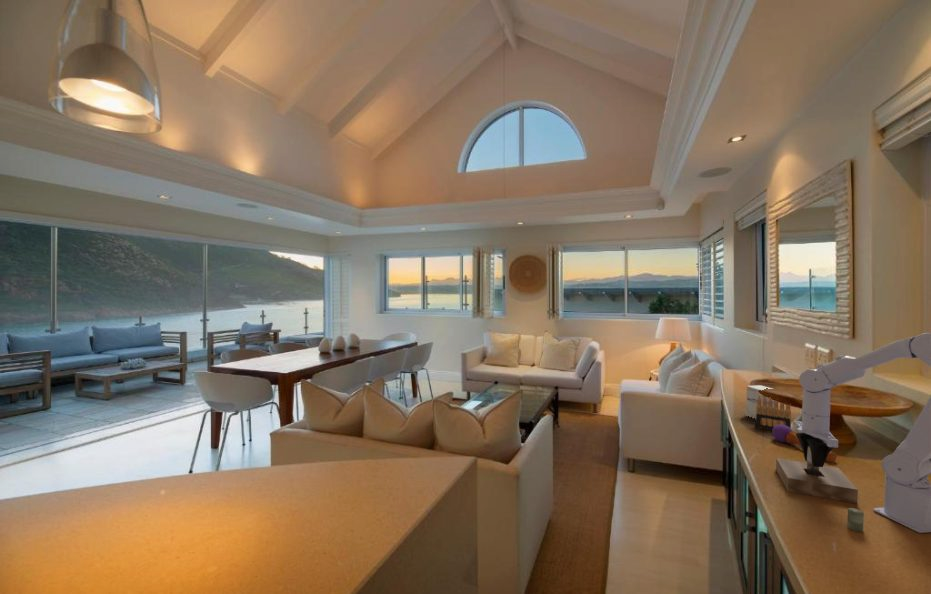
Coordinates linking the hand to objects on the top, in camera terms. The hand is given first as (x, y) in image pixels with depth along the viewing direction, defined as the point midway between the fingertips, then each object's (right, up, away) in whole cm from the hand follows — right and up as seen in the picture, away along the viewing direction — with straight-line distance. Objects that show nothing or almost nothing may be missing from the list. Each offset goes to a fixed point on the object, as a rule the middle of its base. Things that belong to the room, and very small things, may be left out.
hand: (813, 463), depth 114 cm
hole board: (0, -6, 0) cm, 6 cm away
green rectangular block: (-7, -7, -20) cm, 22 cm away
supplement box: (+26, -4, +57) cm, 63 cm away
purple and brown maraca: (+17, -6, +25) cm, 31 cm away
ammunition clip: (+21, -5, +44) cm, 49 cm away
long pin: (0, -3, 0) cm, 3 cm away
